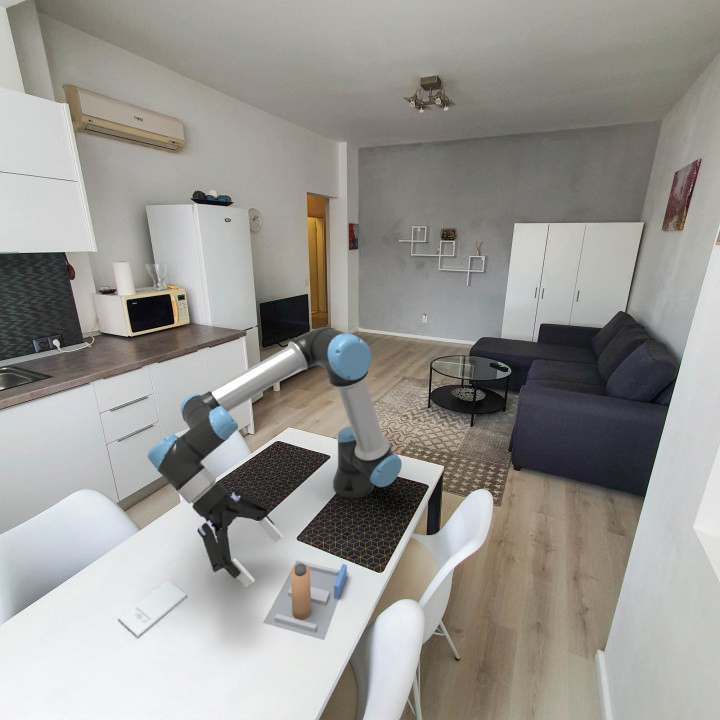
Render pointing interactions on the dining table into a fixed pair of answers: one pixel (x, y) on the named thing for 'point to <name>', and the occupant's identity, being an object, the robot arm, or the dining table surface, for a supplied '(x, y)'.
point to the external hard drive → (152, 608)
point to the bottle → (301, 591)
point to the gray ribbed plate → (323, 601)
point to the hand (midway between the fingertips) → (266, 560)
